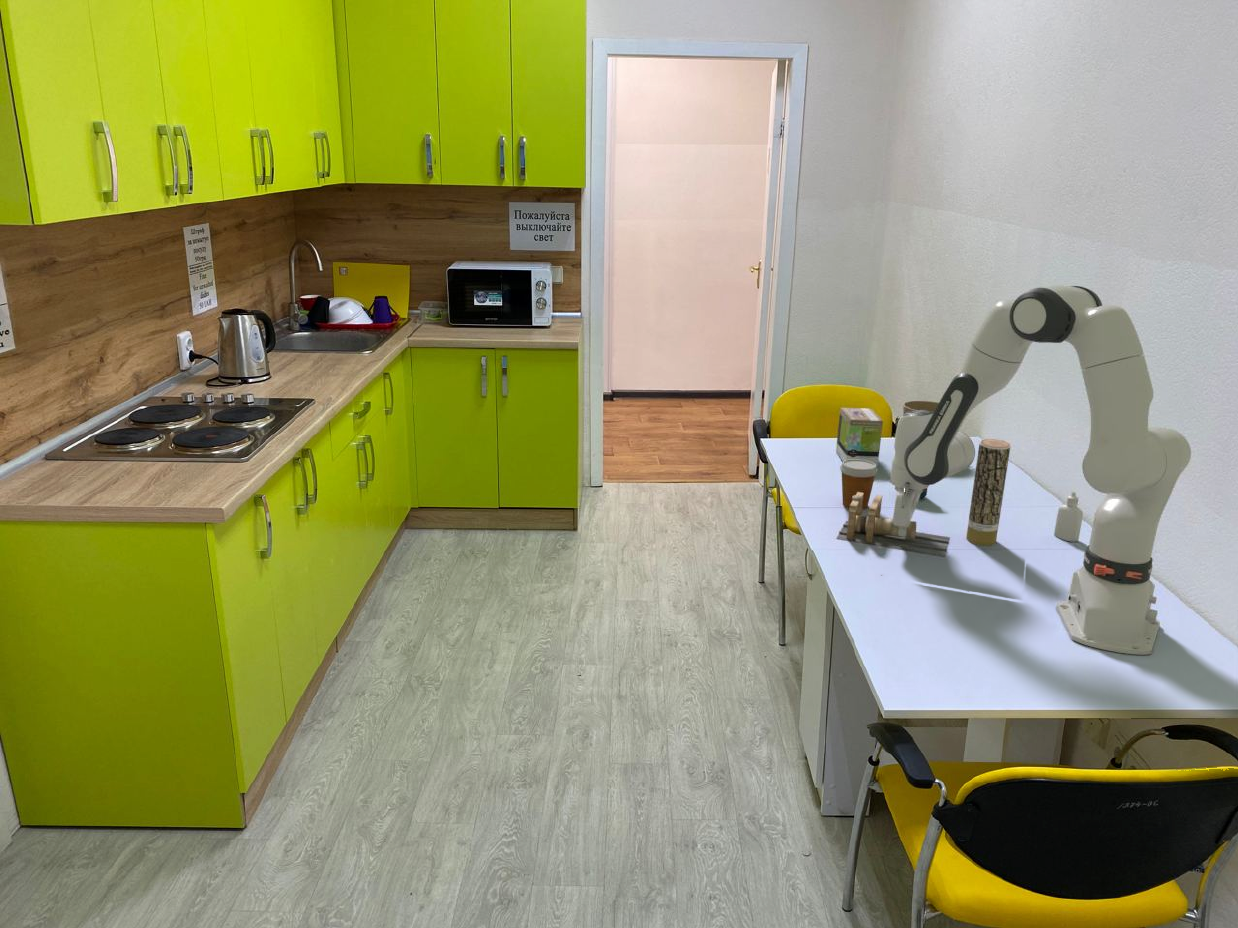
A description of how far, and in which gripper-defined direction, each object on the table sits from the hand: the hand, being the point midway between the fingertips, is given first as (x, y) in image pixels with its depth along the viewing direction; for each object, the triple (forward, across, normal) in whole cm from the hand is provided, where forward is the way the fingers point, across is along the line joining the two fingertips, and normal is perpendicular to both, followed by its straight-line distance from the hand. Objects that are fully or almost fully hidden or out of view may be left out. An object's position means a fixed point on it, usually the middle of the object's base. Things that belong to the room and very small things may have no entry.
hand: (903, 531), depth 229 cm
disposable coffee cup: (+3, +19, +15) cm, 24 cm away
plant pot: (+3, +74, +4) cm, 74 cm away
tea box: (+3, +61, +22) cm, 65 cm away
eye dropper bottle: (+3, +20, -36) cm, 41 cm away
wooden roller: (+2, 0, +5) cm, 5 cm away
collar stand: (+3, 0, +2) cm, 3 cm away
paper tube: (+3, +8, -17) cm, 19 cm away
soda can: (+3, +34, +2) cm, 34 cm away
